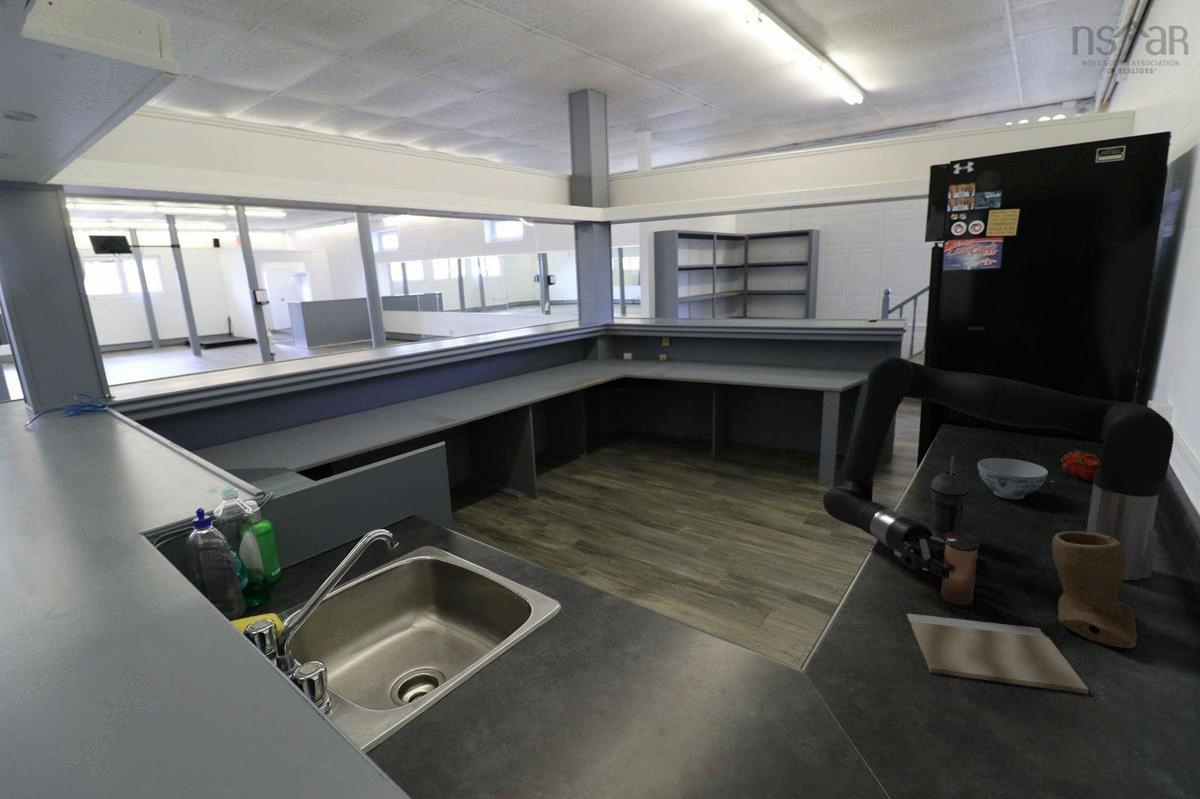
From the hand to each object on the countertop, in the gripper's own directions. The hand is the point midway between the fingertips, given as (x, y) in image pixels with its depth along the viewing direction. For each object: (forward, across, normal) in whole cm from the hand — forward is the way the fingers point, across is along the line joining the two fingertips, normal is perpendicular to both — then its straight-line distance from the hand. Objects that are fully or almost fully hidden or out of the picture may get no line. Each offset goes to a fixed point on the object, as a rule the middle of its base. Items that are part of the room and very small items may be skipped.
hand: (967, 570), depth 101 cm
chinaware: (-35, +53, +7) cm, 64 cm away
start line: (+6, -5, +6) cm, 10 cm away
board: (+13, -9, +6) cm, 17 cm away
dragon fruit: (-37, +82, +7) cm, 90 cm away
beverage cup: (-21, +18, +7) cm, 28 cm away
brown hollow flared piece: (+11, +14, +7) cm, 19 cm away
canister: (-2, 0, +6) cm, 7 cm away
